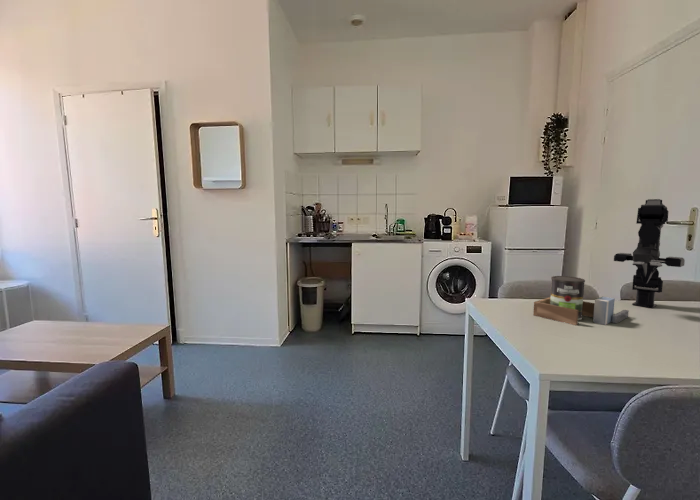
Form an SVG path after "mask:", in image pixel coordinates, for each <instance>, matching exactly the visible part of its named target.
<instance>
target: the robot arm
mask: <svg viewBox="0 0 700 500" xmlns="http://www.w3.org/2000/svg"><path fill="white" fill-rule="evenodd" d="M668 221H669V210H668V207H667V206H666V205H665V204H664V203H663V199H660V198H657V199H654V198H652V199H651V198H648V199H645V203H644V204H641V205H640V207H638V209H637V215H636V223H635V224H637V225H638V224H639V225H640V224H641V225H640V227H639V230H638V232H637V234H638V243H637V247H636V248H635V249H634V251H632V253H627V252H626V253H625V252H619V253H615V254H614V256H613V262H621V263H624V262H626V261H627V262H628V261H632V262H633V263H632V265H633V266H635V267H636V270H635V274H633V277H632V289H631V290H633V291H636V293H635V295H636V296H635V302H633V303H632V305H633V306H638V307H643V308H644V307H645V308H651V309H653V308H655V307H657V306H658V304H657V303H655V297H656V293H662V292H663V285H664V280H662V276H659V275H660V272H659V270H658V269H659V268H660V267H663V264H665V265H666V266H667V267H673V268H674V267H676V268H681V267H684V266H685V263H686V262H685V261H686V260H685V258H684V257H680V256H667V257H661V251H660V246H661V234H662V233H661V232H662V229H663V227H664V225H665V224H666V223H668Z"/></svg>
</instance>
